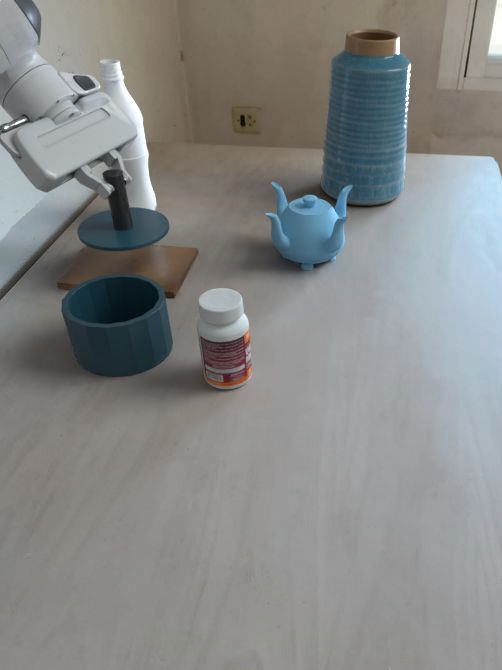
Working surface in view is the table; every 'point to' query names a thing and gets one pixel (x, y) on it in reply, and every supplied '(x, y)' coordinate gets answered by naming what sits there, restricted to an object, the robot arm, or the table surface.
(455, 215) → the table surface
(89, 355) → the pot
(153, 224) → the lid
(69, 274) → the mat
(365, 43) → the vase
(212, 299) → the pill bottle
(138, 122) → the water bottle
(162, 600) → the table surface
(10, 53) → the robot arm
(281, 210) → the teapot
